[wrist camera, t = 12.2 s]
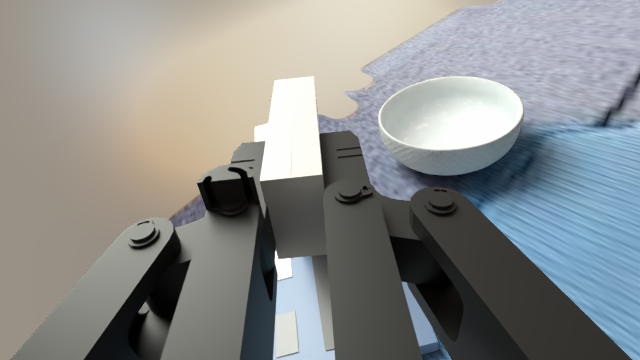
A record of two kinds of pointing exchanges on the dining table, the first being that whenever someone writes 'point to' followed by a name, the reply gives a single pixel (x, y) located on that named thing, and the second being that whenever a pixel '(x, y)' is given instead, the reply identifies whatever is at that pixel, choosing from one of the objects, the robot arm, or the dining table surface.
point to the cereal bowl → (451, 124)
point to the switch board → (320, 312)
